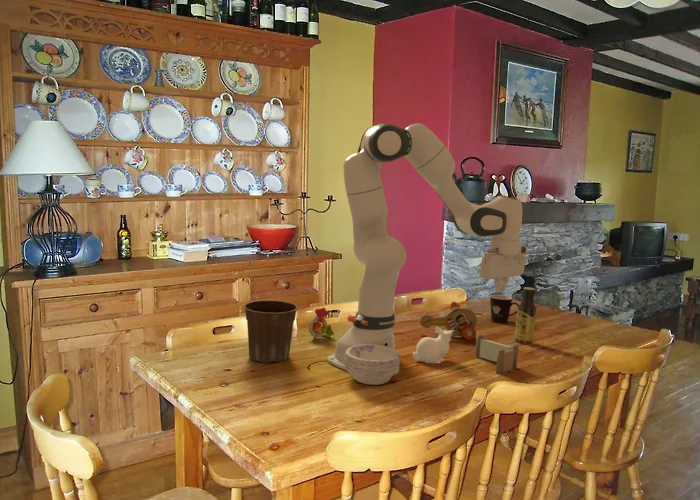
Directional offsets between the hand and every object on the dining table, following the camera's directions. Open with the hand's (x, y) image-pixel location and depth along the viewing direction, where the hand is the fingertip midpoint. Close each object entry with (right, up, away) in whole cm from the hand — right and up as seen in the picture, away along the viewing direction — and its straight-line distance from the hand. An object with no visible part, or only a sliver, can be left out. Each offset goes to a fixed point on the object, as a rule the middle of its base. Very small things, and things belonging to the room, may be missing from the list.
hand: (500, 290), depth 180 cm
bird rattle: (-58, -18, +16) cm, 63 cm away
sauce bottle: (+13, -20, +20) cm, 31 cm away
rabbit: (-21, -22, -4) cm, 31 cm away
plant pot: (-72, -20, -6) cm, 75 cm away
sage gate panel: (-3, -22, -3) cm, 22 cm away
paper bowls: (-42, -23, -22) cm, 53 cm away
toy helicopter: (-12, -19, +24) cm, 32 cm away
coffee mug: (+13, -16, +48) cm, 52 cm away
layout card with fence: (0, -22, -3) cm, 23 cm away
